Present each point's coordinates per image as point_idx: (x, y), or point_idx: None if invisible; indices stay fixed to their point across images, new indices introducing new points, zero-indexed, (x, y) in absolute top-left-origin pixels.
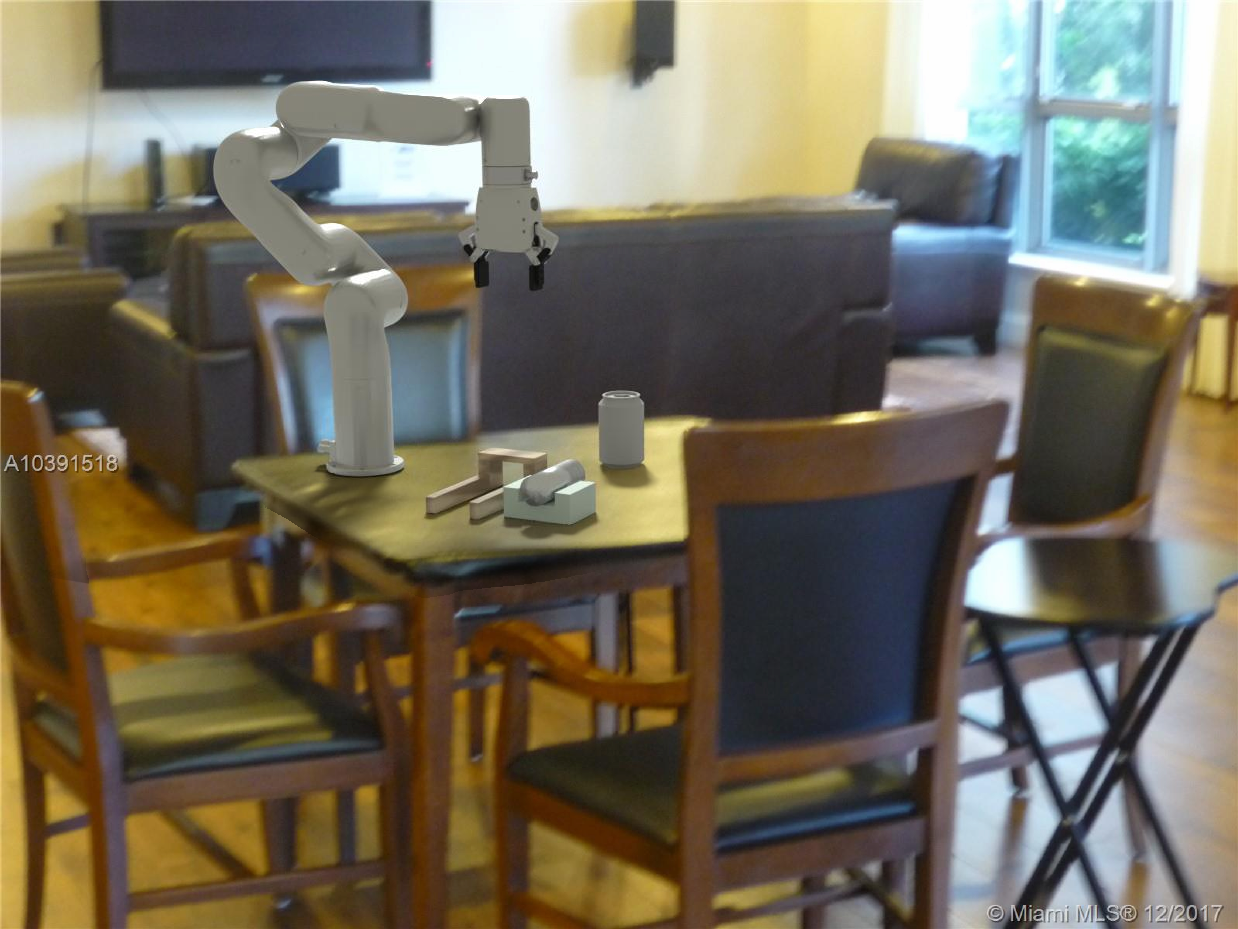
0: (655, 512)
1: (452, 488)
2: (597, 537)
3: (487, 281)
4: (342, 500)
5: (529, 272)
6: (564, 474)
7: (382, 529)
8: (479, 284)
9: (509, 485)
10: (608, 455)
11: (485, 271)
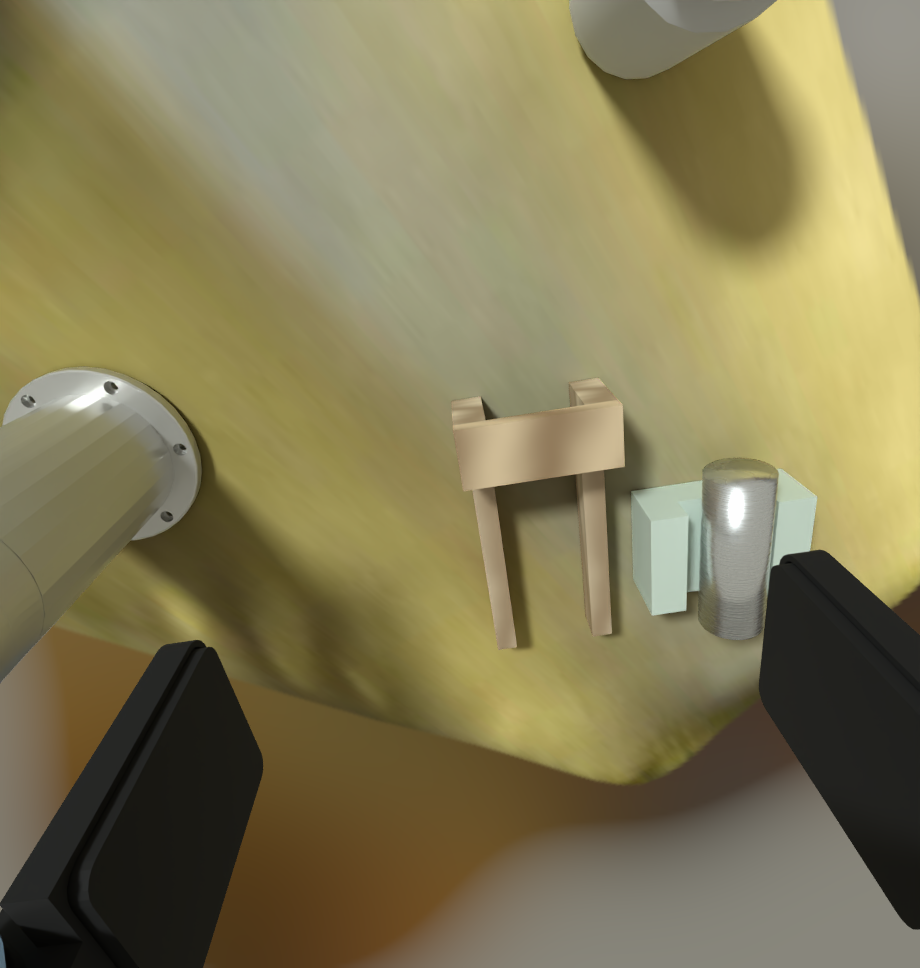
0: (901, 404)
1: (501, 587)
2: None
3: (209, 696)
4: (305, 644)
5: (865, 852)
6: (770, 554)
7: (500, 716)
8: (257, 786)
9: (657, 602)
10: (640, 73)
11: (177, 818)
